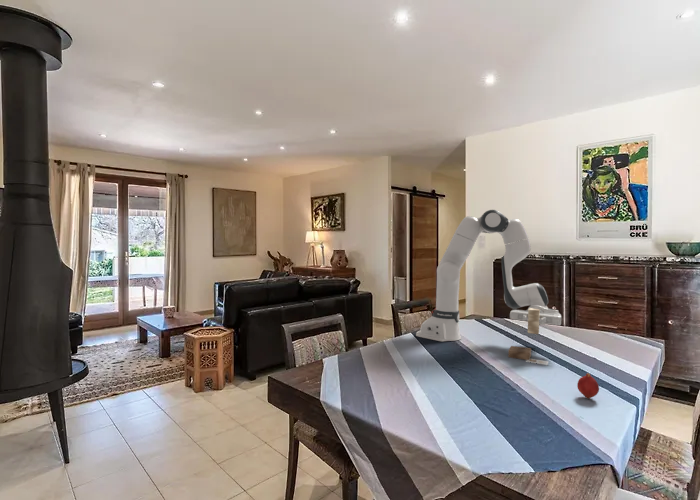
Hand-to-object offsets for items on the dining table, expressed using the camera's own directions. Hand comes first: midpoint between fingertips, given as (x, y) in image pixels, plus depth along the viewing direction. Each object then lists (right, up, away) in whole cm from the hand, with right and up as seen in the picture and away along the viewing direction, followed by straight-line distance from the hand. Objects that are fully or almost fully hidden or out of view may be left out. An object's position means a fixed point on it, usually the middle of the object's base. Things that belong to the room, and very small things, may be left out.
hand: (533, 320), depth 158 cm
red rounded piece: (-2, -18, -39) cm, 43 cm away
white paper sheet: (0, -16, -4) cm, 17 cm away
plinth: (-4, -16, +3) cm, 17 cm away
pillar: (0, -5, +1) cm, 6 cm away
